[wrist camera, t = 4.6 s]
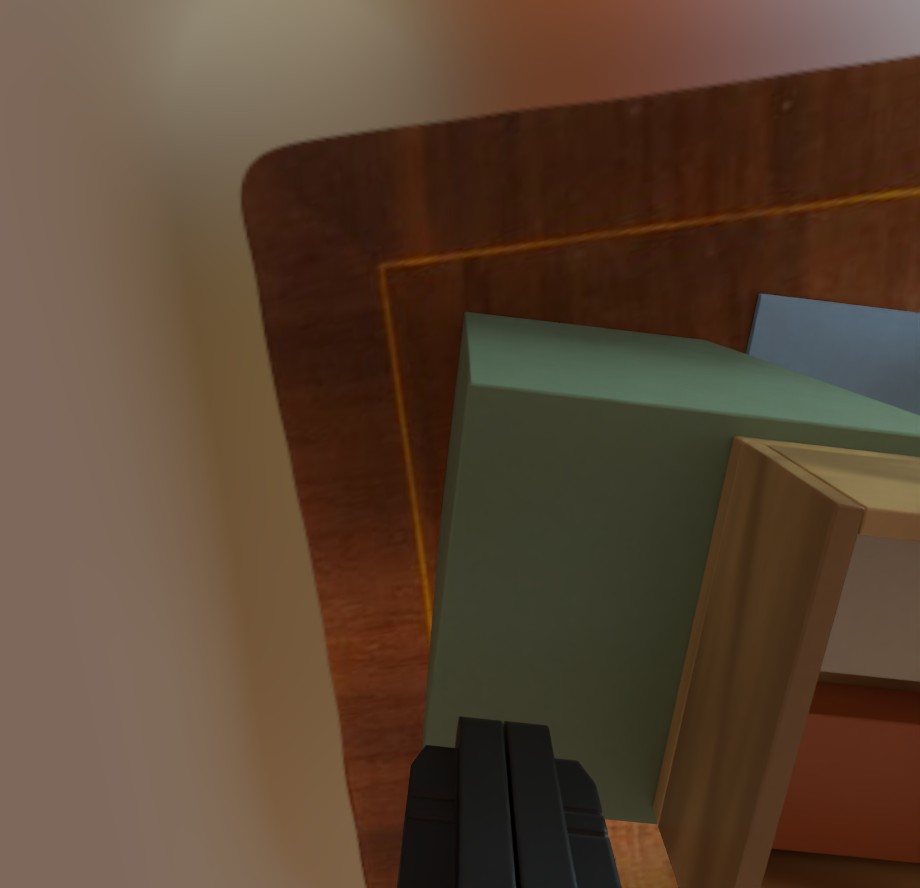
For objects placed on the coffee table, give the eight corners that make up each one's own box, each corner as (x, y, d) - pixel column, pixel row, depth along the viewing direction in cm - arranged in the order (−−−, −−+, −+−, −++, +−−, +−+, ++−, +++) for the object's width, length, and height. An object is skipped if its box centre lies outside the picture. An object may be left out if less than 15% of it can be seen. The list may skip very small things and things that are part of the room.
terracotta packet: (723, 802, 18) (745, 847, 16) (755, 674, 17) (781, 710, 16) (921, 822, 18) (958, 868, 17) (963, 696, 17) (1006, 734, 16)
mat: (715, 488, 37) (718, 491, 37) (758, 293, 35) (761, 293, 35) (904, 510, 38) (909, 512, 37) (960, 317, 35) (965, 318, 35)
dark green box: (439, 522, 38) (417, 802, 19) (464, 311, 35) (468, 381, 16) (665, 547, 38) (873, 847, 19) (707, 340, 35) (1001, 443, 16)
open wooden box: (650, 809, 19) (710, 982, 14) (732, 435, 16) (836, 504, 12) (953, 838, 19) (1105, 1019, 14) (1080, 475, 16) (1313, 557, 12)
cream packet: (764, 636, 17) (791, 669, 15) (801, 488, 16) (833, 511, 14) (975, 658, 17) (1020, 693, 15) (1024, 513, 16) (1076, 538, 15)
